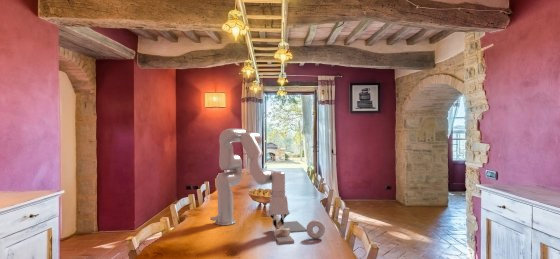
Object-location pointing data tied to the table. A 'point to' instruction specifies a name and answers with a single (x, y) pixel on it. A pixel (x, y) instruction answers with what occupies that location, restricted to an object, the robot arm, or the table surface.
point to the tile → (284, 240)
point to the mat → (294, 226)
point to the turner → (281, 229)
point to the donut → (320, 232)
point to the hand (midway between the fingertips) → (278, 226)
